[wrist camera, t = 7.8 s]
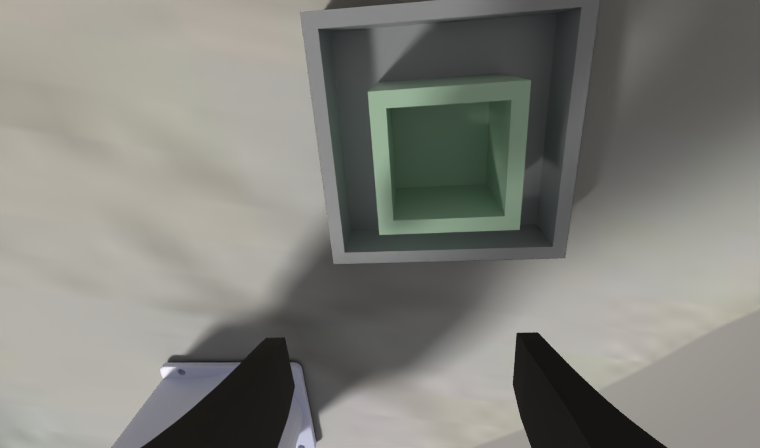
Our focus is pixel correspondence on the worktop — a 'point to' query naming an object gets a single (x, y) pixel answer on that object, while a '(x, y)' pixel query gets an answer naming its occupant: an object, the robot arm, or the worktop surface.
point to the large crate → (438, 60)
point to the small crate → (449, 153)
